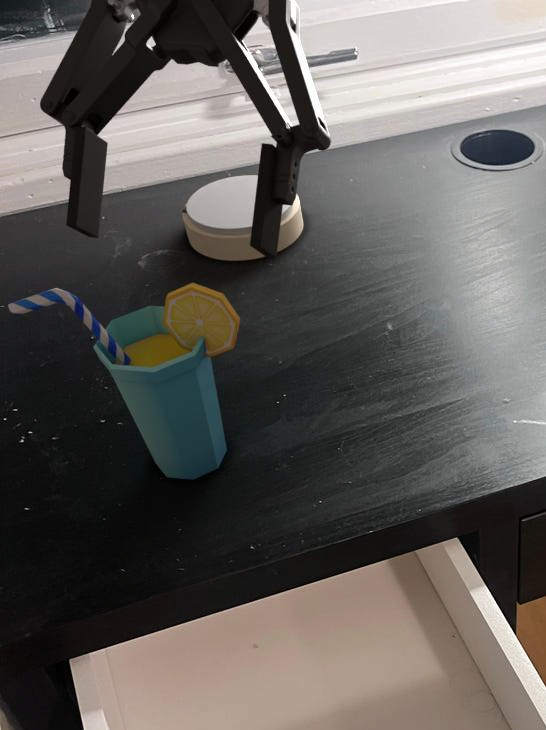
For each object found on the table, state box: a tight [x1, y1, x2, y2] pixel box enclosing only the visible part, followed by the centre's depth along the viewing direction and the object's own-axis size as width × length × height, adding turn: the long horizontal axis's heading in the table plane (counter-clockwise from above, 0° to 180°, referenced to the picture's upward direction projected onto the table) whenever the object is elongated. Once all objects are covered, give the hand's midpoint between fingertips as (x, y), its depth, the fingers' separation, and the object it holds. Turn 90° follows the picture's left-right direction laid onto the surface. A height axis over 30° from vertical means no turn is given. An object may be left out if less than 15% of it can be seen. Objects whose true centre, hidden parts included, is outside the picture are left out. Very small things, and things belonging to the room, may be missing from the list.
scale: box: [181, 174, 304, 262], centre depth 94 cm, size 11×11×3 cm
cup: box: [7, 282, 241, 481], centre depth 69 cm, size 14×8×15 cm, turn 103°
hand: (171, 242), depth 68 cm, fingers open, 13 cm apart
